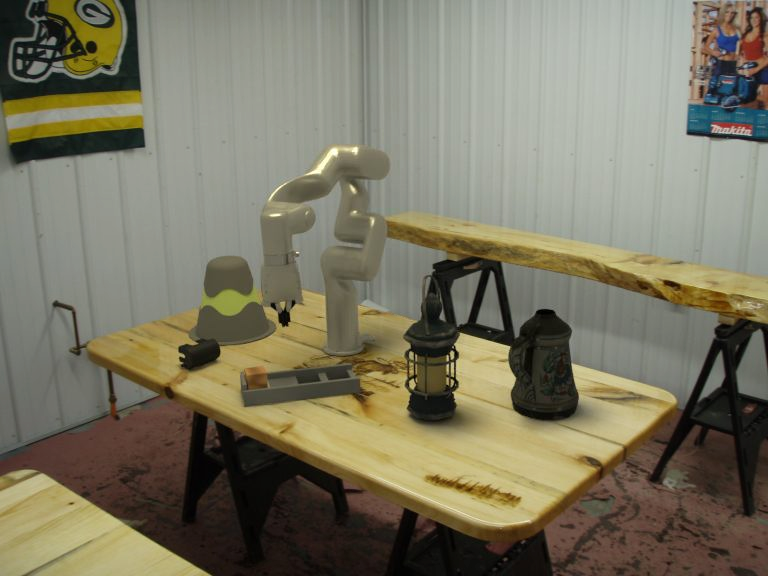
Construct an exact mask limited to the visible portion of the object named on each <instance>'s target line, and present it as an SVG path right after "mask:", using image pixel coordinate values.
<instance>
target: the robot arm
mask: <svg viewBox="0 0 768 576" xmlns="http://www.w3.org/2000/svg"><path fill="white" fill-rule="evenodd" d="M390 170H391V161H390V158H389V156H388V154H387V153H386V152H385V151H383V150H381V149H378V148H374V147H371V146H367V145H364V144H359V143H358V144H356V143H331V144H328V145H326V146H324V148H323V149H322V150H321V151H320V152H319V154H318V155H317V156H316V158H315V159H314V160H313V162H312V164H311V165H310V166H309V167H308V169H307V170H306V171H305V173H302V174H301V175H297V176H296V177H295V178H293V179H291V180H289V181H287V182H285V183H284V184H281V185H280V186H279V187H277V188H276V189H275V190H274V191H273V192H272V194H270V196H269V197H268V199H267V200H266V201H265V203H264V204H263V206H262V209H261V213H260V216H259V224H260V233H261V243H262V245H261V246H262V253H263V262H262V263H260V264H261V265H260V289H261V290H260V291H261V297H262V300H261V303H262V306H263V308H272V309H273V310H274V311H275V312H276V313H277V317H278V319H277V320H278V324H281V327H282V328H285V327H289V326H290V325H289V323H291V322H292V321H291V311H292V309H293V308H294V306H296V305H297V304H300V303H303V302H304V297H303V290H302V288H303V287H302V282H301V281H302V280H301V276H300V275H301V274H300V272H299V271H300V270H299V266H298V262H297V260H296V258H298V257H300V253H299V251H297V250H296V251H295V250H293V249H294V245H293V236H294V235H298V234H303V233H307V232H308V231H309V230H311V229H312V228H313V227H314V225H315V222H316V218H317V217H316V212H315V210H314V208H312V207H311V206H310V205H308V204H306V202H311V201H315V200H319V199H322V198H325V197H327V196H329V194H331V192H332V190H333V189H334V187H335V186H336V185H337V184H338V183H339V186H340V192H341V194H340V201H339V203H338V204H339V206H338V208H337V212H336V216H335V221H334V226H333V236H334V237H335V239H336V240H337V241H339V242H342V243H346V244H351V245H352V244H353V245H360V246H361V245H362V247H357V246H349V245H346V246H345V245H331V246H327V247H326V248H325V249H324V250H322V253H321V255H320V257H319V263H320V269H321V270H320V271H321V274H322V277H323V278H322V279H323V284H324V293H325V294H324V298H325V299H324V301H325V320H326V321H325V322H326V341H325V342H323V344H322V348H321V349H322V351H323V352H324V353H325V354H327V355H330V356H334V357H335V356H336V357H337V356H338V357H345V356H353V355H357V354H359V353H361V352H363V351H364V350H365V343H366V342H369V343H370V342H371V343H372V342H375V340H376V338H375V335H374V334H369V333H363V334H361V333H360V332H359V329H360V327H359V301H358V299H359V298H358V296H359V295H358V290H357V289H358V288H357V287H356V284H355V283H354V281H356V282H372V281H373V280H375V279H376V278H377V276H378V274H379V271H380V268H381V263H382V259H383V254H384V251H385V247H386V243H387V236H388V223H387V221H386V219H385V217H384V216H383V215H382V214H380V213H376V212H369V211H368V210H369V204H370V194H369V192H368V191H369V190H368V189H367V187H366V185H365V184H364V182H363V181H362V180H365V181H366V180H367V181H381V180H384V179H386V177H387V176H388V174H389V172H390ZM281 302H284V307H283V308H282V307H281Z"/></svg>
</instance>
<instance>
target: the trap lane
mask: <svg viewBox="0 0 768 576" xmlns="http://www.w3.org/2000/svg"><path fill="white" fill-rule="evenodd" d="M239 377H240V390H241V395H242V396H241V397H242V401H243V402H242V403H243V406H244V408H246V407H253V406H255V407H256V406H262V405H270V404H276V403H277V404H279V403H285V402H295V401H302V400H303V401H304V400H311V399H317V398H318V399H319V398H329V397H337V396H344V395H349V394H350V395H351V394H352V395H353V394H361V377H360V376H357V375H356V374H355V372H354V371H353V364H352V362H348V363H341V364H332V365H331V364H330V365H323V366H322V365H321V366H313V367H312V366H311V367H306V368H304V367H303V368H298V369H287V370H279V371H277V370H276V371H270V372H268V371H267V381H268V388H261V389H253V390H247V384H246V379H245V373H244V371H239Z"/></svg>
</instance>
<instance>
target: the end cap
mask: <svg viewBox="0 0 768 576" xmlns="http://www.w3.org/2000/svg"><path fill="white" fill-rule="evenodd" d="M194 342H195V343H196V344H189V343H185V344H181V345H179V346H178V348H177V349H178V350H177V351H178V352H177V353H179V354H181V355H184V356H183V357H182V356H178V360H179V363H181V364H180V367H181V368H183V369H186V370H193V369H196V368H198V367H201V366H204V365H207V364H209V363H212V362H215V361H216V360H218V359H219V357H220V356H221V352H222V350H221V347H220V346H219V344H218V342H217V341H216V340H215V339H210V340H206V339H203V338H202V339H199V340H196V341H194Z"/></svg>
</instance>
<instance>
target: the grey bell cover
mask: <svg viewBox="0 0 768 576" xmlns="http://www.w3.org/2000/svg"><path fill="white" fill-rule="evenodd" d="M201 297H202V298H201V304H200V307H199V309H198V316H197V322H196V325H195V326H193V327H192V328H191V329H190V330H189V332H188V338H189V339H190V340H191V341H192V342H195V341H196V340H199V339H202V338H203V339H206V340H210V339H215V340H216V341H217V342H218V344H219V346H236V345H243V344H249V343H253V342H257V341H259V340H262V339H265V338H268V337H269V336H271V335H272V334H273V333H274V332H275V331H276V330H277V324H276V323H275V321H274V320H272V319H269V318H267V315H266V311H265V309H264V307H263V306H262V300H260V298H259V295H258V292H257V289H256V286H255V283H254V278H253V274H252V272H251V269H250V266H249V263H248V261H247V260H246V259H245V258H243V257H242V256H238V255H221V256H217V257H214V258H212V259H211V260H209V261H208V262H207V264H206V268H205V274H204V281H203V292H202V296H201Z"/></svg>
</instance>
